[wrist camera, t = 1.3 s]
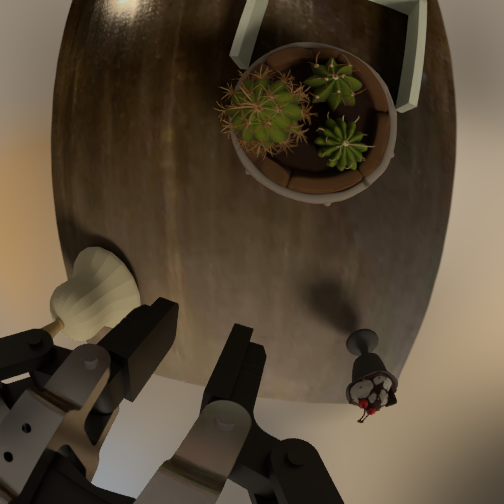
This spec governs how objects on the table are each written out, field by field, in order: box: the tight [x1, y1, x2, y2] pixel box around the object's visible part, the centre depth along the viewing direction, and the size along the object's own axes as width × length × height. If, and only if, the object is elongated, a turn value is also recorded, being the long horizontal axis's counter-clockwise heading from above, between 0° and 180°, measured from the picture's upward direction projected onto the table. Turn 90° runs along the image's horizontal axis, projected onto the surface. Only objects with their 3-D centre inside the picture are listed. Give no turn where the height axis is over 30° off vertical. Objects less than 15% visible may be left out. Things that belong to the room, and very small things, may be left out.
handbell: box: [41, 247, 141, 341], centre depth 31 cm, size 15×15×25 cm
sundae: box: [346, 330, 398, 423], centre depth 30 cm, size 7×7×15 cm
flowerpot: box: [214, 42, 397, 206], centre depth 20 cm, size 14×15×20 cm
